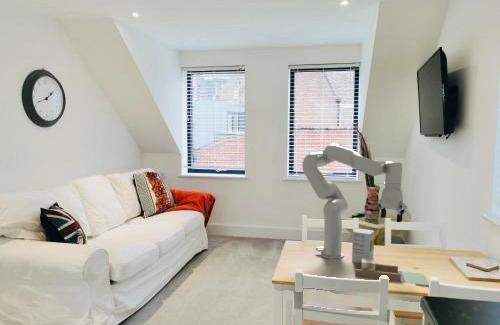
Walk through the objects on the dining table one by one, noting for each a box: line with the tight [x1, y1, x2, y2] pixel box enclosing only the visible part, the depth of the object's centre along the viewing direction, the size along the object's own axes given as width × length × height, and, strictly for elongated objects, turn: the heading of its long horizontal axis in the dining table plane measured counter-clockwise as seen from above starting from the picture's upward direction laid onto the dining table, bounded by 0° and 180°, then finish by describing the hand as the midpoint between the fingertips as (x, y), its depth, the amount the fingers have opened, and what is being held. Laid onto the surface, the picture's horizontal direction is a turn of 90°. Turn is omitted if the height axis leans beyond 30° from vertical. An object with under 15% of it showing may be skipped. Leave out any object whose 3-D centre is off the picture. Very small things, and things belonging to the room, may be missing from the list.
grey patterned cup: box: [361, 258, 376, 271], centre depth 172 cm, size 6×6×6 cm
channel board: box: [354, 262, 430, 287], centre depth 169 cm, size 32×14×4 cm, turn 74°
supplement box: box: [351, 227, 375, 263], centre depth 189 cm, size 10×9×17 cm
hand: (391, 219), depth 179 cm, fingers open, 9 cm apart
